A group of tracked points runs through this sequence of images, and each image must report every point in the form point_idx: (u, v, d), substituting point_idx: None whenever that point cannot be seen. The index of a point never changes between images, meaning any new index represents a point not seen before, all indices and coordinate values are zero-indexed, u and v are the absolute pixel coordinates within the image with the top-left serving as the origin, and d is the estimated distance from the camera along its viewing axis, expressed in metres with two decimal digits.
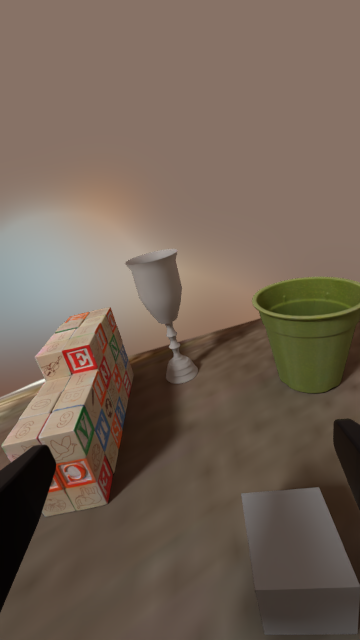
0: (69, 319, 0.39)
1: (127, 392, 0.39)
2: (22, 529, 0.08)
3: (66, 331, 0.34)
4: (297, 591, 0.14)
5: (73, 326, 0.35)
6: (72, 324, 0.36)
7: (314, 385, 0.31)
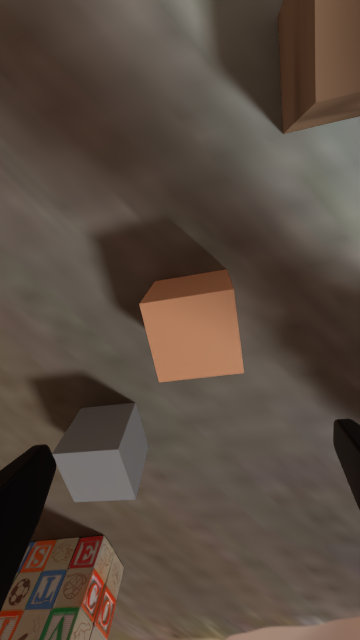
0: None
1: None
2: (22, 529, 0.08)
3: None
4: (129, 476, 0.20)
5: None
6: None
7: None
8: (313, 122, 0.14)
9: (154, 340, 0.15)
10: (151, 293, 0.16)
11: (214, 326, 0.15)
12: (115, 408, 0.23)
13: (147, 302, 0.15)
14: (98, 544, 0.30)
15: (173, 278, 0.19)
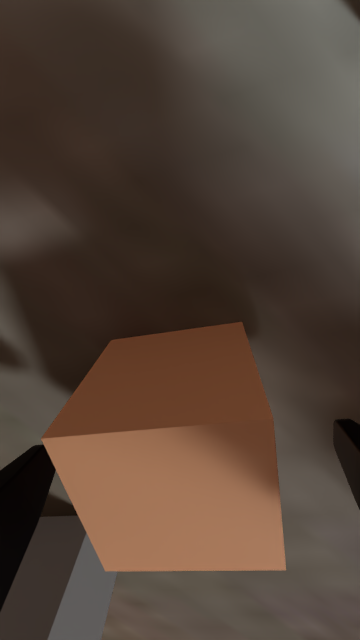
0: None
1: None
2: (22, 529, 0.08)
3: None
4: None
5: None
6: None
7: None
8: None
9: (86, 505, 0.07)
10: (86, 388, 0.08)
11: (222, 489, 0.06)
12: (60, 526, 0.15)
13: (60, 434, 0.06)
14: None
15: (143, 336, 0.10)
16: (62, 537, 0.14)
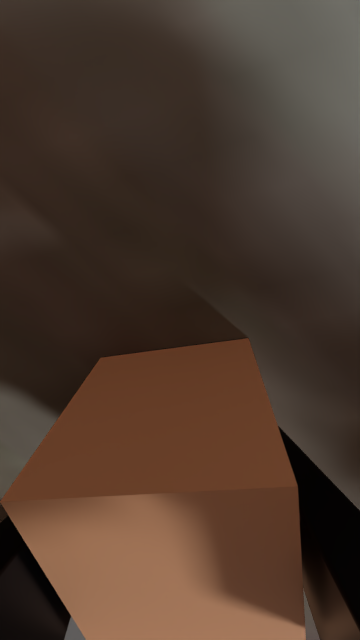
0: None
1: None
2: None
3: None
4: None
5: None
6: None
7: None
8: None
9: (61, 575, 0.06)
10: (65, 426, 0.06)
11: (230, 563, 0.05)
12: None
13: (25, 496, 0.05)
14: None
15: (136, 354, 0.09)
16: None
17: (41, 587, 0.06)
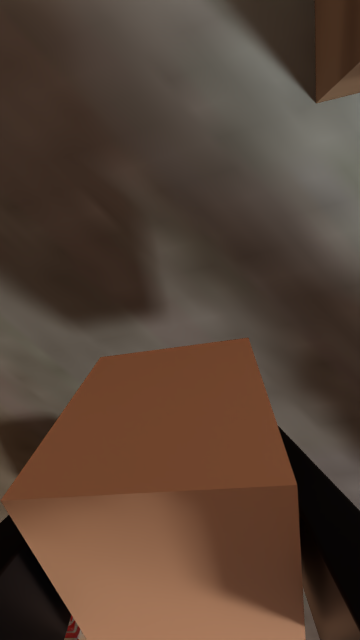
0: None
1: None
2: None
3: None
4: None
5: None
6: None
7: None
8: None
9: (61, 574, 0.06)
10: (65, 425, 0.06)
11: (229, 562, 0.05)
12: None
13: (26, 495, 0.05)
14: None
15: (136, 354, 0.09)
16: None
17: (41, 587, 0.06)
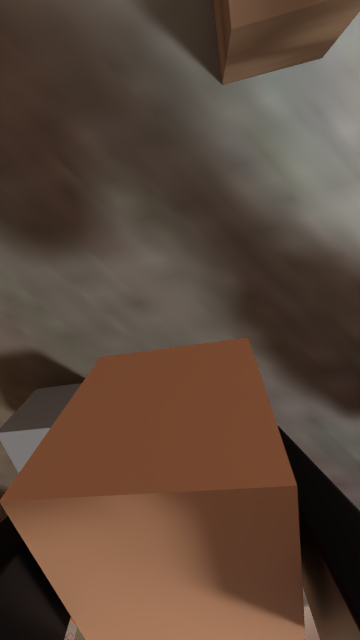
0: None
1: None
2: None
3: None
4: None
5: None
6: None
7: None
8: (248, 67, 0.13)
9: (60, 575, 0.06)
10: (64, 426, 0.06)
11: (229, 562, 0.05)
12: (70, 388, 0.22)
13: (24, 496, 0.05)
14: None
15: (136, 354, 0.09)
16: (72, 391, 0.22)
17: (41, 587, 0.06)
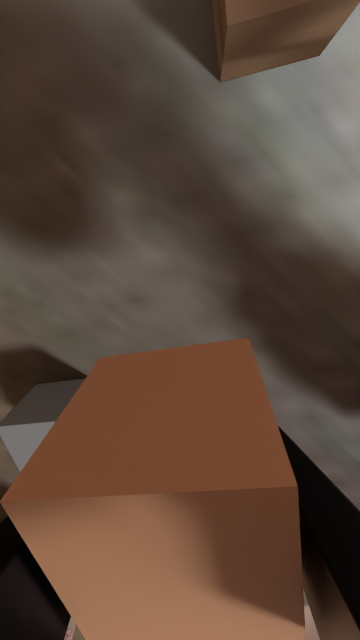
0: None
1: None
2: None
3: None
4: None
5: None
6: None
7: None
8: (246, 65, 0.13)
9: (61, 576, 0.06)
10: (65, 426, 0.06)
11: (230, 563, 0.05)
12: (69, 383, 0.22)
13: (24, 496, 0.05)
14: None
15: (136, 354, 0.09)
16: (71, 387, 0.22)
17: (41, 587, 0.06)
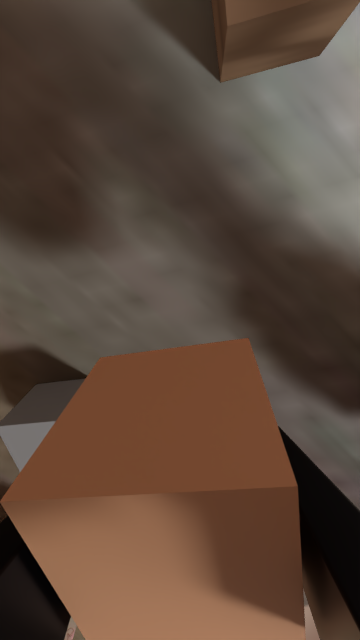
0: None
1: None
2: None
3: None
4: None
5: None
6: None
7: None
8: (246, 65, 0.13)
9: (61, 576, 0.06)
10: (65, 426, 0.06)
11: (230, 563, 0.05)
12: (69, 383, 0.22)
13: (24, 496, 0.05)
14: None
15: (136, 354, 0.09)
16: (71, 387, 0.22)
17: (41, 587, 0.06)
